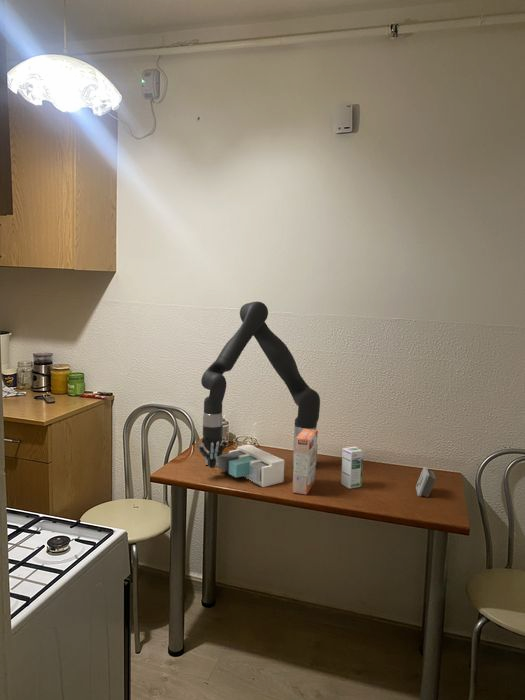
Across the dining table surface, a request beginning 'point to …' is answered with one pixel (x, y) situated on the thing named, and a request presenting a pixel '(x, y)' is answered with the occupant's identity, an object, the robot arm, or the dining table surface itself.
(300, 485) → the cracker box
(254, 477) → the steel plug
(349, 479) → the syrup box
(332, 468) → the dining table surface
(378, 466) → the dining table surface
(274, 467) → the socket housing
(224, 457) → the charcoal plug
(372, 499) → the dining table surface
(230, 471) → the teal plug
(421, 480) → the electrical switch
